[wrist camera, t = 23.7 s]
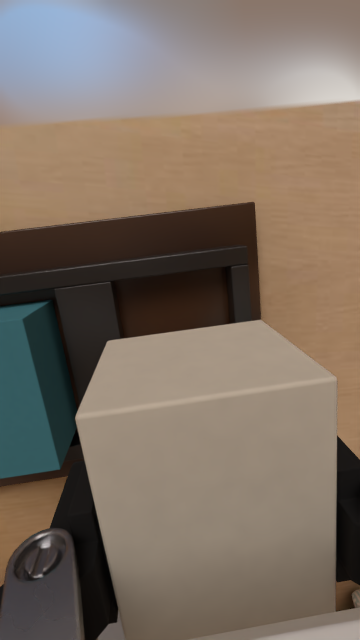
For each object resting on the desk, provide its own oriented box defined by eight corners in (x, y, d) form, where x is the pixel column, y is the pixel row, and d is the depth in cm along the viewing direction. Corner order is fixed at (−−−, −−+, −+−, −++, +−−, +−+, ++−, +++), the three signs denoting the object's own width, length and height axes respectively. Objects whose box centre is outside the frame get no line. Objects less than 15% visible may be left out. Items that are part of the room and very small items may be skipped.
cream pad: (106, 340, 10) (72, 416, 6) (261, 318, 10) (339, 376, 6) (143, 540, 12) (138, 706, 8) (272, 517, 12) (336, 667, 8)
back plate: (-96, 244, 18) (-137, 245, 16) (249, 203, 19) (263, 198, 17) (-18, 478, 23) (-41, 509, 20) (262, 435, 24) (276, 459, 21)
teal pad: (-36, 310, 18) (-95, 333, 14) (52, 299, 19) (22, 318, 14) (0, 432, 21) (-40, 485, 16) (79, 420, 21) (60, 469, 16)
